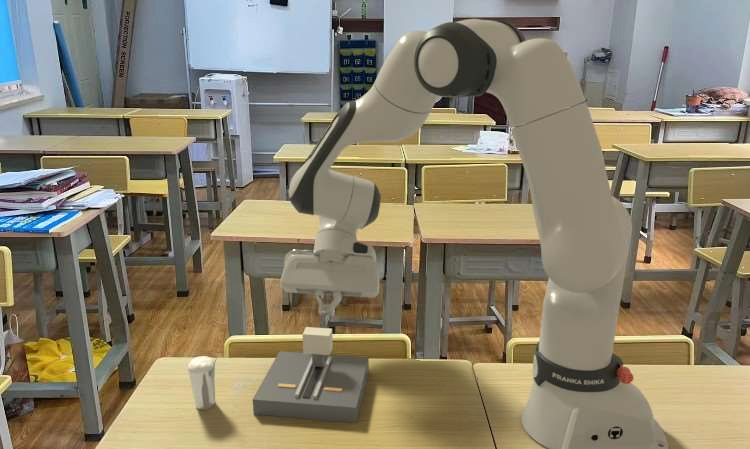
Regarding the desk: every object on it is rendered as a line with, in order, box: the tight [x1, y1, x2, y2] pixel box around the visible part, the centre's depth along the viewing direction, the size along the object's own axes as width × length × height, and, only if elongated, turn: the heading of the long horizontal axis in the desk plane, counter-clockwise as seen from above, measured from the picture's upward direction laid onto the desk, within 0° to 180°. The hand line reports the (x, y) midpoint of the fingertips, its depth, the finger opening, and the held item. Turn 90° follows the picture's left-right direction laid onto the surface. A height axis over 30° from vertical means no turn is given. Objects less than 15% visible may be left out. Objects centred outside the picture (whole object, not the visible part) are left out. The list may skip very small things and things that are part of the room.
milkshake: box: [187, 356, 218, 411], centre depth 95 cm, size 5×5×10 cm
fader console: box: [252, 351, 370, 424], centre depth 101 cm, size 18×16×4 cm
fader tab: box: [302, 326, 334, 367], centre depth 102 cm, size 5×3×7 cm, turn 83°
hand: (325, 314), depth 109 cm, fingers closed
